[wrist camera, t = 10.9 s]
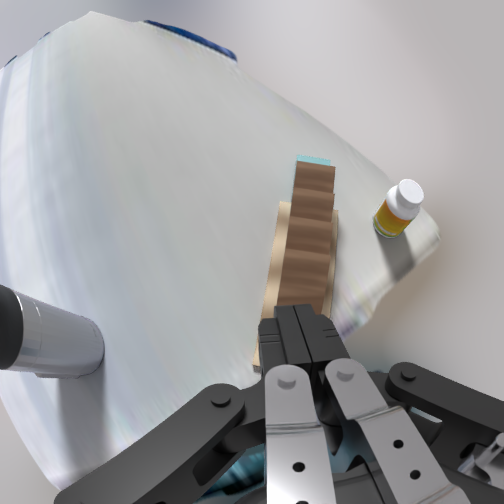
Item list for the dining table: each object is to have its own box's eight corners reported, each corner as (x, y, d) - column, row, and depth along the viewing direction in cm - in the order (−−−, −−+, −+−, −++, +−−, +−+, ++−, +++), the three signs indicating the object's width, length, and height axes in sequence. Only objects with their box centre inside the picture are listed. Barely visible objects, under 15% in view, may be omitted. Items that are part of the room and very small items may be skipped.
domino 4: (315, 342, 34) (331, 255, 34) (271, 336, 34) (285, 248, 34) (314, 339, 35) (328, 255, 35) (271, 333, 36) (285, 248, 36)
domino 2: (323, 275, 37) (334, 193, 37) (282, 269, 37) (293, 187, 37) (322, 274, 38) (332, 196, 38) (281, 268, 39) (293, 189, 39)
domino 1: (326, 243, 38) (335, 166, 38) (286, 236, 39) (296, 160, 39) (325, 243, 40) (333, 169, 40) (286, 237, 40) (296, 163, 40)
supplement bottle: (398, 244, 40) (426, 215, 31) (368, 230, 41) (391, 197, 32) (404, 217, 42) (430, 185, 33) (376, 204, 43) (397, 168, 34)
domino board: (320, 373, 34) (321, 374, 33) (252, 364, 35) (252, 364, 34) (336, 212, 43) (338, 210, 42) (279, 203, 44) (280, 201, 43)
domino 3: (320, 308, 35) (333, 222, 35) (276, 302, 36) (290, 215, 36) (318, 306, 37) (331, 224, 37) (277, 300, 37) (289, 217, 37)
